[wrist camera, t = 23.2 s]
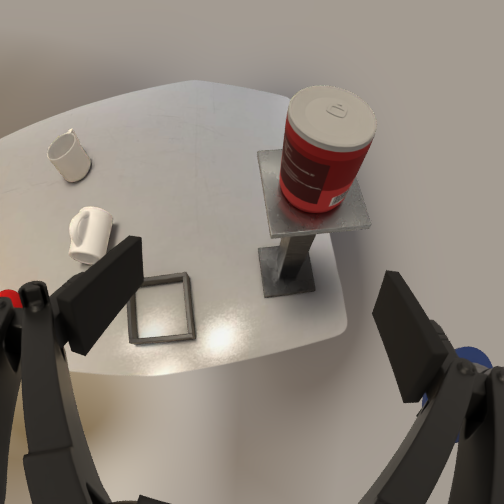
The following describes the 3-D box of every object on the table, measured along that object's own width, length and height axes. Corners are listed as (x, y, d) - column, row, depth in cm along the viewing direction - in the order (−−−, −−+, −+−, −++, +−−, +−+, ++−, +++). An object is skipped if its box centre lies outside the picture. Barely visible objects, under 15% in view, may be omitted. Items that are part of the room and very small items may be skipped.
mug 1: (88, 181, 69) (70, 155, 59) (62, 186, 69) (42, 163, 59) (97, 147, 74) (82, 121, 63) (71, 153, 73) (55, 129, 63)
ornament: (10, 332, 54) (-17, 324, 45) (9, 297, 57) (-16, 286, 48) (33, 328, 55) (6, 320, 46) (32, 292, 58) (7, 280, 49)
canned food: (348, 165, 34) (375, 96, 23) (343, 223, 31) (379, 158, 21) (284, 151, 34) (294, 77, 24) (272, 207, 31) (280, 135, 21)
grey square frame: (189, 276, 60) (186, 271, 57) (195, 338, 55) (192, 337, 53) (131, 284, 59) (125, 280, 57) (134, 344, 55) (129, 343, 52)
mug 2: (118, 223, 65) (97, 196, 53) (110, 266, 61) (84, 244, 50) (89, 223, 65) (65, 198, 53) (80, 264, 61) (52, 243, 50)
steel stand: (317, 293, 59) (371, 225, 31) (262, 300, 58) (271, 235, 30) (307, 242, 63) (345, 146, 35) (255, 247, 62) (257, 150, 34)
